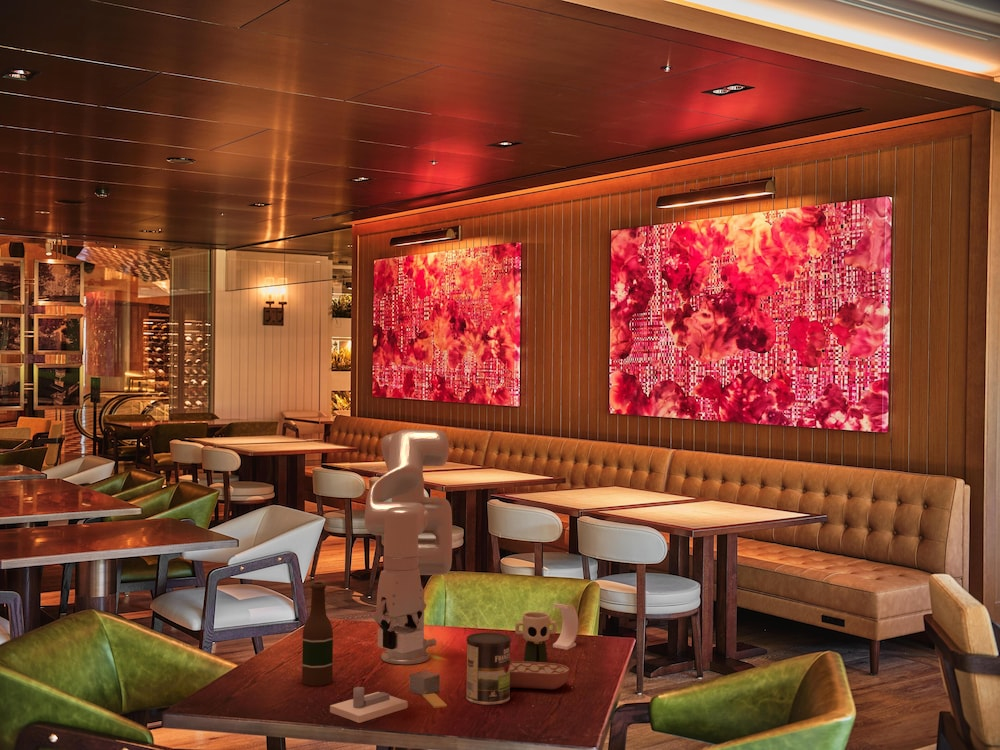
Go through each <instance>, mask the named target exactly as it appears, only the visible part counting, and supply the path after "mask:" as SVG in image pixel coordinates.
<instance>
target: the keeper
mask: <svg viewBox="0 0 1000 750" xmlns="http://www.w3.org/2000/svg"><path fill="white" fill-rule="evenodd" d="M352 691H353V696H352V697H353V698H352V699H347V700H344V701H340V702H338V703H334V704H331V705H329V713H331V714H332V715H337V716H339V717H341V718H344V719H347V720H350V721H353V722H355V723H359V724H360V723H363V722H367V721H371V720H373V719H376V718H380V717H383V716H387V715H390V714H393V713H396V712H399V711H402V710H406V709H407V708H408V700H406V699H405V700H404V699H402V698H398V697H396V696H392V695H390V693H388V692H384V691H381V692H380V691H375V692H373V693H369V694H365V687H363V686H355V687H353V690H352Z"/></svg>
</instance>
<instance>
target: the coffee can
mask: <svg viewBox="0 0 1000 750" xmlns="http://www.w3.org/2000/svg"><path fill="white" fill-rule="evenodd" d="M511 642H512V638H511V637H510V636H509V635H507V634H505V633H501V632H499V633H498V632H476V633H472V634H469V635H467V636H466V644H467V645H466V647H467V648H466V694H465V695H466V696H465V698H466V699H465V700H467V701H468V702H470V703H472V704H477V705H478V704H479V705H484V706H486V705H487V706H492V705H494V706H496V705H499V704H500V705H501V704H505V703H507V702H509V701H510V699H511V695H510V694H511V693H510V691H511V690H510V689H511V688H510V661H511Z"/></svg>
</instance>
